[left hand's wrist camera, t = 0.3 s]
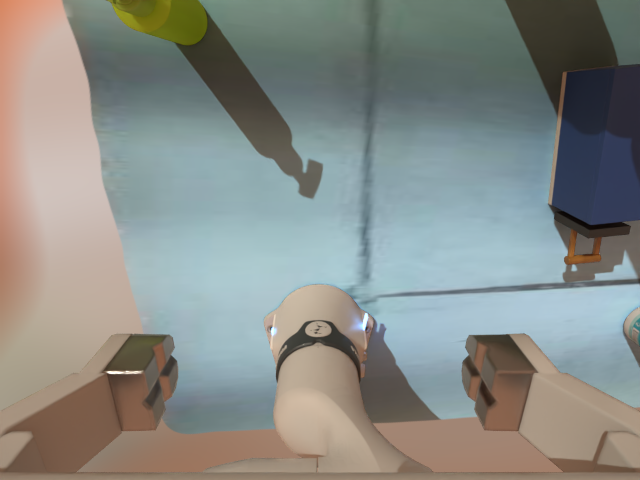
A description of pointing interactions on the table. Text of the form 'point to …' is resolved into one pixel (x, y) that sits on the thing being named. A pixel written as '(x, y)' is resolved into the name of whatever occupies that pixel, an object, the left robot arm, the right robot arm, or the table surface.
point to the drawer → (588, 236)
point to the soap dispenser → (164, 18)
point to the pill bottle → (633, 326)
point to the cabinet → (598, 145)
